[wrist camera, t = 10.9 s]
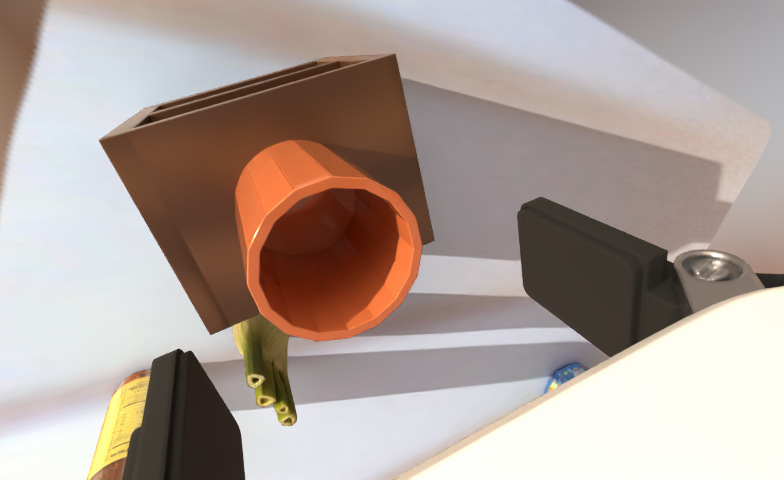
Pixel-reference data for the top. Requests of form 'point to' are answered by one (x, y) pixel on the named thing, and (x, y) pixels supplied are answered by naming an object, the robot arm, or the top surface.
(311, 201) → the tumbler
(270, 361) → the fennel bulb
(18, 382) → the top surface
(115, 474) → the sauce bottle
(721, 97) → the top surface
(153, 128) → the brown wooden organizer box
